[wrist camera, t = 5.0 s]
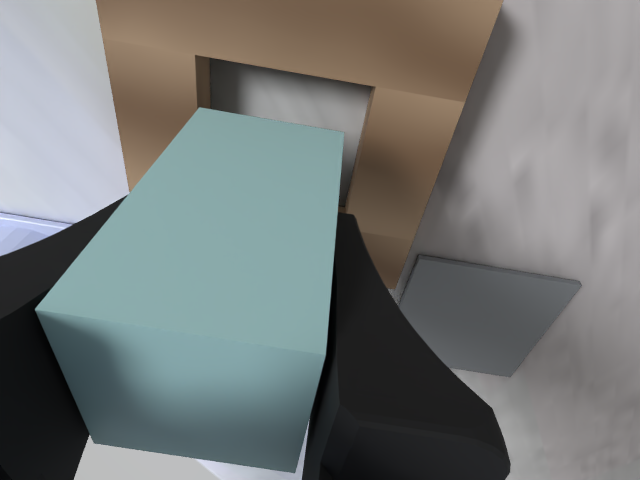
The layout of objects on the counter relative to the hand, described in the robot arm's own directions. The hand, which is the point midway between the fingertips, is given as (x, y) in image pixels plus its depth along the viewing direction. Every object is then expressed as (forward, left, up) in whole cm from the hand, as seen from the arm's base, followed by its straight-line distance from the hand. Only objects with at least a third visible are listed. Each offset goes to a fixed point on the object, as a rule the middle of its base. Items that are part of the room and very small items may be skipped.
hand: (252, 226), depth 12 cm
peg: (0, 0, -2) cm, 2 cm away
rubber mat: (-9, -11, -6) cm, 15 cm away
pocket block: (0, 0, -6) cm, 6 cm away
